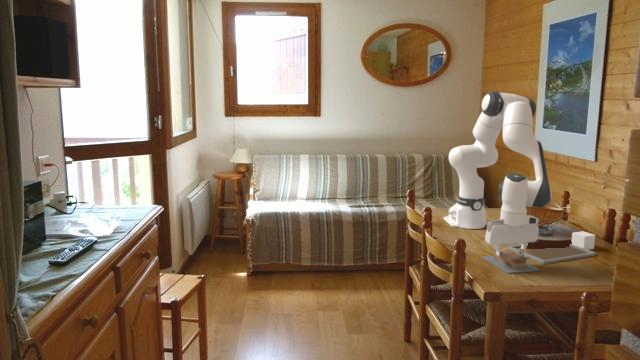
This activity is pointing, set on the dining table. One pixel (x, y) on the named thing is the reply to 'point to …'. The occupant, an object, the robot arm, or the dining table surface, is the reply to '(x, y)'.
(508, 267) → the rubber mat
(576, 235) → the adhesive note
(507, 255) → the tan rectangular block
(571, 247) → the flat tray
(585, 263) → the dining table surface
